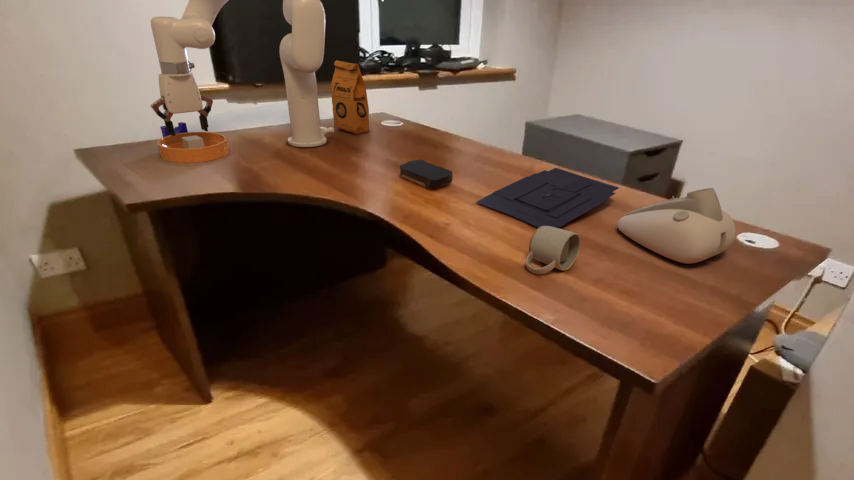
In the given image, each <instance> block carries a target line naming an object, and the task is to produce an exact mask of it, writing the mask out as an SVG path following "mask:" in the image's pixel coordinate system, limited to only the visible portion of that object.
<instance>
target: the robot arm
mask: <svg viewBox="0 0 854 480" xmlns="http://www.w3.org/2000/svg"><path fill="white" fill-rule="evenodd" d="M229 1H230V0H188V3H187V5H186V7H185V9H184V12H183V14H182V16H181V18H178V17H174V16H154V17H152V18H150V27H151V31H152V32H151V33H152V37H153V42H154V46H155V49H156V54H157V58H158V63H159V68H160V72H161V73H158V88H159V95H160V96H159V97H160V98H158V99H157V100H155V101H154V102H152V103H151V104H150V108H151V109H152V111H153V112H154V113H155V114H156V116H158V117H159V118H160V119H162V120H163V121H164V126H166V130H167V132H168V133H169V134H170V135H172V136H175V131H174V128H175V126H174V123H173V121H172V120H171V119H172V117H173V116H174V115H176V114H185V113H186V114H187V113H192V112H194V113H195V112H197V113H198V114H199V116H198V118H199V122H200V129H201V130H202V131H203V132H209V121H208V117H209V114H210V112H212V107H213V103H214V101H213V99H212V98H209V97H207V96H204V95H202V94H201V93H200V89H199V85H198V83H197V79H196V77H195V75H194V73H193V72H192V69H195V67H196V66H195V63H194V62H190V61H189V56H188V51H187V48H191V49H196V50H197V49H199V50H206V49H209V48H210V47H212V46H213V45H214V43H215V40H216V33H215V29H214V28H213V24H214V22H215V20H216V17H217V15H218V14H219V12H220V11H221V9H222V8H223V6H225V4H226V3H229ZM282 13H283V17H284V19H285V21H286V22H287V23H288V24H289V25H290V26H291V32H289V33H287V34H286V35H284V36H283V38H282V39H281V41H280V44H279V58H280V63H281V66H282V71H283V77H284V84H285V92H286V101H287V107H288V117H289V124H290V131H291V136H289V137H288V138H287V144H288V145H290V146H292V147H296V148H298V147H299V148H315V147H319V146H320V147H321V146H323V145H325V144H326V143H327V141H328V139H327V137H326V136H327V135H330V134H334V133H335V129H334V126H333V127H332V126H330V127H326V126H321V117H320V105H319V95H318V84H317V77H316V72H317V71H318V70H319V69H320V68H321V66H322V64H323V61H324V55H325V42H326V41H325V39H326V12H325V8H324V4H323V3H322V1H321V0H282ZM203 101H204V102H205V106H204V105H203ZM203 106H204V107H203ZM160 107H162V109H163V110H164V112H162V111H161V110H160Z"/></svg>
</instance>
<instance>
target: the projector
mask: <svg viewBox="0 0 854 480" xmlns="http://www.w3.org/2000/svg"><path fill="white" fill-rule="evenodd" d="M671 197H672V198H669V199H668V200H664V201H660V202H656V203H654V204H649V205H646V206H643V207H640V208H637V209H634V210H632V211H629V212H627V213H626V214H625V215H624V216H622V217H621V218H620V219H619V220H618V223H617V228H618V230H619V231H620V232H621V233H622V234H623V235H625V236H626V237H628V238H629V239H631V240H632V241H634V242H636V243H637V244H639V245H640V246H642V247H644V248H646V249H648V250H650V251H652V252H654V253H656V254H658V255H660V256H662V257H665V258H666V259H670V260H672V261H675V262H678V263H680V264H681V263H682V264H688V265H689V264H696V263H700V262H702V261H706V260H707V259H710V258H712V257H714V256H717V255H719V254H721V253H723V252H725V251H726V250H727V249H729V248H731V246H732V245H733V243H734V241H735V239H736V233H737V232H736V224H735V222H734V219H733V218H732V217H731V216H730V215H729V214H728V212H726V211H724V210H723V209H722V206H721V203H720V200H719V198H718V195H717V192H716V190H715V188H714V187H708V188H702V189H697V190H693V191H688V192H687V193H686V196H684V197H675V196H674V195H671Z"/></svg>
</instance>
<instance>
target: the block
mask: <svg viewBox="0 0 854 480" xmlns="http://www.w3.org/2000/svg"><path fill="white" fill-rule="evenodd" d="M182 142H183V146H184V149H190V148H202V147H204V143H203V138H201V137H199V136H197V135H195V136H188V137H182Z"/></svg>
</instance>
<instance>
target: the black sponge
mask: <svg viewBox="0 0 854 480" xmlns="http://www.w3.org/2000/svg"><path fill="white" fill-rule="evenodd" d="M399 168H400V169H399V170H400V171H399V177H400V178H403V179H405V180H407V181H410V182H413V183H415V184H417V185H419V186H421V187H423V188H426V189H428V190H436V189H438V188H440V187H443V186H447V185H449V184H451V183H452V182H453V178H454V177H453V176H454V175H453V171H452V170H450V169H447V168H444V167H441V166H440V165H439V166H438V165H436V164H433V163H431V162H429V161H428V162H427V161H426V160H423V159H414V160H409V161H406V162H405V163H403V164H400V165H399Z"/></svg>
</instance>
